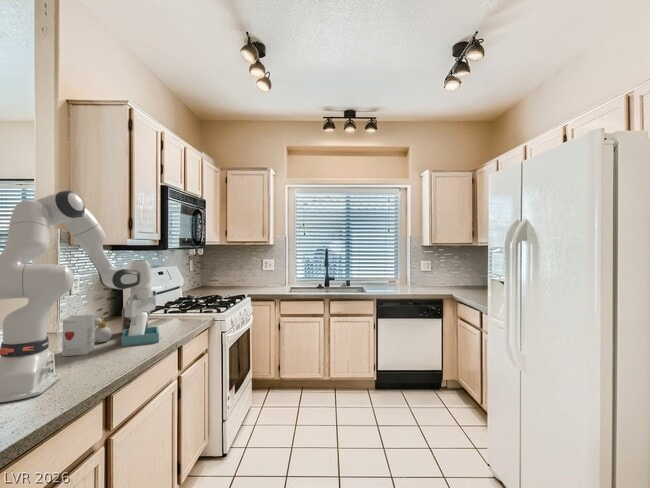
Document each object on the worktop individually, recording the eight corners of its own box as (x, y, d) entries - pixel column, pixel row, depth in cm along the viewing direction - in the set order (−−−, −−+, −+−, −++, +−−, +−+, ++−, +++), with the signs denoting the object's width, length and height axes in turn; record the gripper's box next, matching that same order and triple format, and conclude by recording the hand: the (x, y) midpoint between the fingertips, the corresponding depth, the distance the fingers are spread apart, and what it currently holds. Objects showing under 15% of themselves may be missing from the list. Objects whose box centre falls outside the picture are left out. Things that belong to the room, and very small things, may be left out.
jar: (146, 334, 177) (146, 304, 177) (120, 336, 172) (120, 306, 172) (148, 328, 188) (148, 300, 188) (123, 330, 183) (124, 302, 183)
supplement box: (61, 356, 141) (61, 319, 141) (71, 350, 150) (71, 315, 150) (86, 354, 144) (86, 318, 144) (95, 348, 152) (95, 314, 152)
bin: (158, 342, 162) (158, 333, 162) (121, 346, 155) (121, 337, 155) (158, 334, 175) (158, 326, 175) (123, 338, 169) (123, 329, 169)
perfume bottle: (112, 338, 168) (112, 314, 168) (110, 344, 159) (110, 317, 159) (94, 340, 164) (94, 315, 164) (90, 346, 156) (90, 319, 156)
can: (137, 336, 158) (142, 310, 162) (124, 336, 159) (130, 310, 163) (146, 338, 164) (151, 312, 168) (133, 338, 165) (139, 312, 169)
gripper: (134, 297, 155) (134, 328, 155) (158, 291, 175) (158, 318, 175) (120, 297, 155) (120, 328, 155) (146, 291, 176) (146, 318, 176)
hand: (140, 323), depth 165 cm, fingers open, 8 cm apart
